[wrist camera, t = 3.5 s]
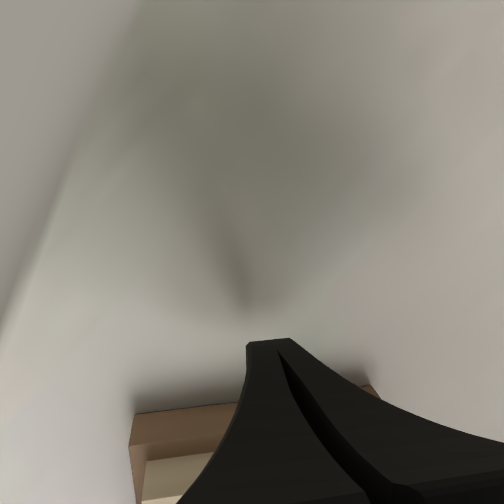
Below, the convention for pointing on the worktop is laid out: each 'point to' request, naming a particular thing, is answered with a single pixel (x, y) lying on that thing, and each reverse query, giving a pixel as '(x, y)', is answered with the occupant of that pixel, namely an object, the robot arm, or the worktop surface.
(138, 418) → the panel
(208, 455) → the birch coaster
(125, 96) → the worktop surface
